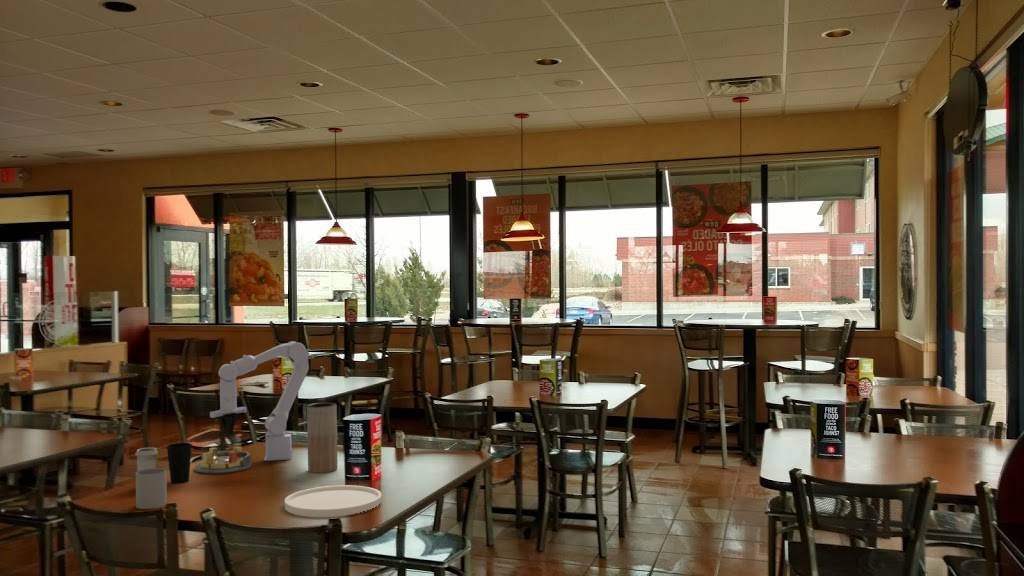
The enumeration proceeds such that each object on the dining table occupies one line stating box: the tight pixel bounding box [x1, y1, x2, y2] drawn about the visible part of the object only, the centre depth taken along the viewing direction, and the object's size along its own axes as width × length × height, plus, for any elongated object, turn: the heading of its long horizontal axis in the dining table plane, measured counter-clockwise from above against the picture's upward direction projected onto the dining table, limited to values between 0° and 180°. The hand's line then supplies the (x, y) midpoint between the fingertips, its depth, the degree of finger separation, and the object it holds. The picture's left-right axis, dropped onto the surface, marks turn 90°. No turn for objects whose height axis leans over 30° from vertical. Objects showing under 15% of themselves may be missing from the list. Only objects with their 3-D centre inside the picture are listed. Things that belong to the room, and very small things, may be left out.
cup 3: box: [166, 442, 193, 484], centre depth 278 cm, size 8×8×12 cm
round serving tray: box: [194, 450, 252, 475], centre depth 297 cm, size 19×19×4 cm
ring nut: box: [199, 446, 243, 469], centre depth 297 cm, size 15×15×5 cm
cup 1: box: [135, 447, 159, 471], centre depth 271 cm, size 7×7×12 cm
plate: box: [284, 484, 383, 518], centre depth 247 cm, size 28×28×2 cm
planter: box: [306, 402, 338, 474], centre depth 292 cm, size 10×10×23 cm
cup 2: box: [135, 467, 168, 510], centre depth 248 cm, size 8×8×10 cm
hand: (229, 434), depth 305 cm, fingers closed
